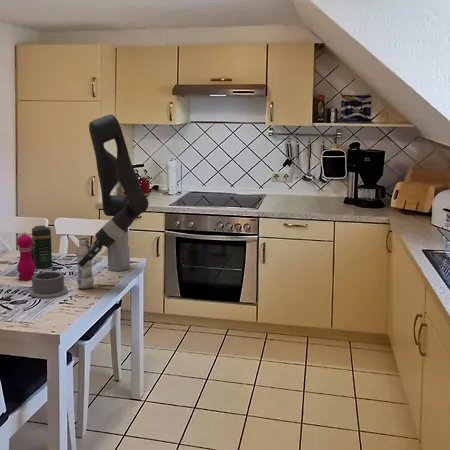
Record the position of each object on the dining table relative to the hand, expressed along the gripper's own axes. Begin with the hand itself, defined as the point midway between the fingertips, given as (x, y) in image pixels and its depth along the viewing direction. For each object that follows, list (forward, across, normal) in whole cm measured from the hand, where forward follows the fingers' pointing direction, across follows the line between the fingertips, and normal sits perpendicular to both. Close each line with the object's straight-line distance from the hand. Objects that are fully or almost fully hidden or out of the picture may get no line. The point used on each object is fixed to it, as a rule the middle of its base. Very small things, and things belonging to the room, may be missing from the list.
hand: (80, 262), depth 216 cm
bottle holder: (+16, +4, -1) cm, 17 cm away
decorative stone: (+26, -48, -11) cm, 56 cm away
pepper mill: (+24, -16, -9) cm, 31 cm away
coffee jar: (+22, -34, -6) cm, 41 cm away
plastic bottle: (+7, 0, +9) cm, 11 cm away
